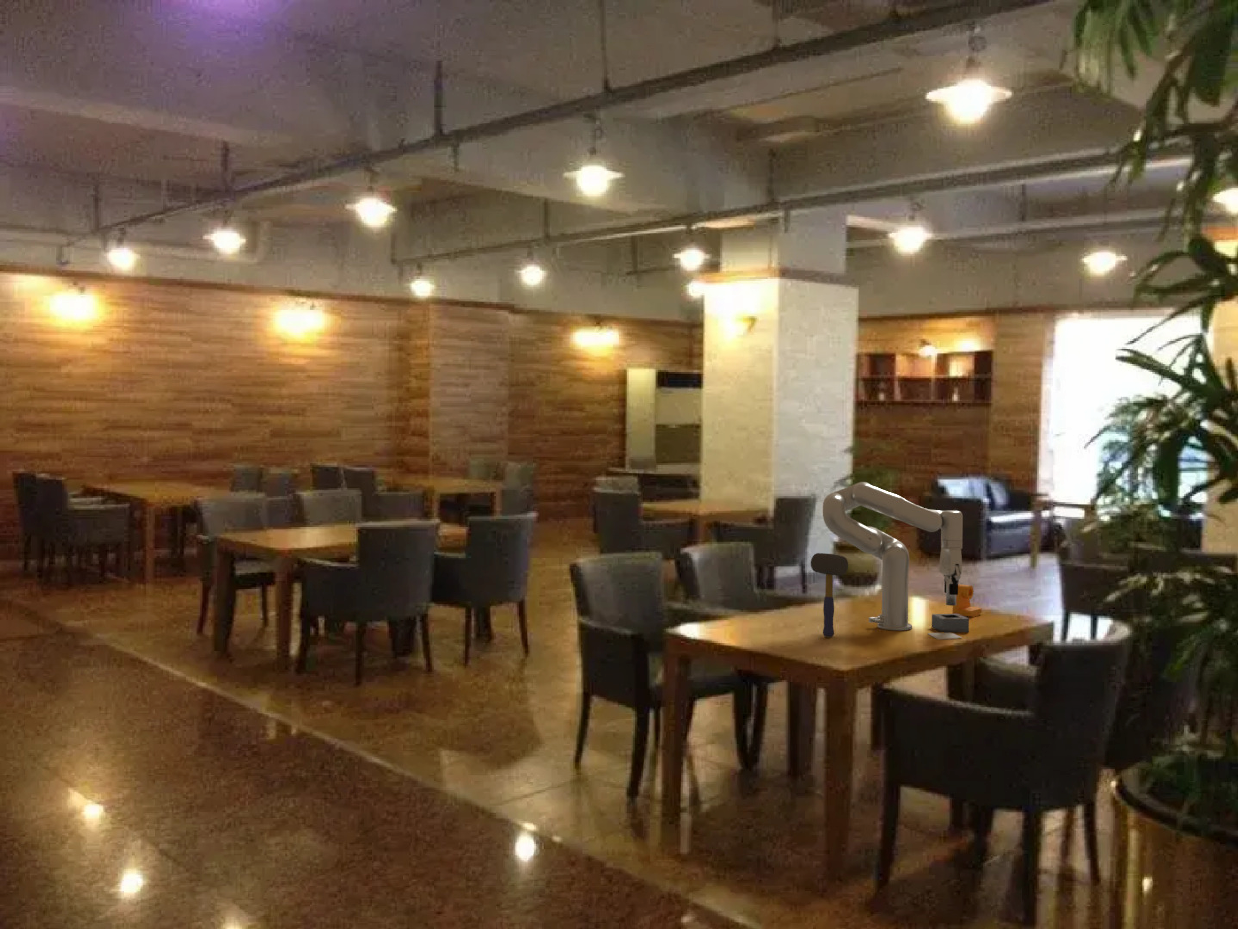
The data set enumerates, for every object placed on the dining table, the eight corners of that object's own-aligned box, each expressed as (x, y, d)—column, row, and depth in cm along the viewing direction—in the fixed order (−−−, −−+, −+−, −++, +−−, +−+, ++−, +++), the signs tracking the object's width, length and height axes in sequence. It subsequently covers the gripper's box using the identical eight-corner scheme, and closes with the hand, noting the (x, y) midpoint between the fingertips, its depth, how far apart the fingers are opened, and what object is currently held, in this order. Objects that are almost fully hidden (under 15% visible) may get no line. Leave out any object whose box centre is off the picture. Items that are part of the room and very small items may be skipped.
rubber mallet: (849, 638, 408) (850, 554, 407) (835, 641, 404) (836, 556, 402) (821, 633, 418) (822, 551, 416) (808, 636, 413) (808, 552, 411)
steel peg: (947, 606, 422) (947, 569, 422) (942, 603, 427) (942, 567, 426) (960, 605, 423) (960, 569, 422) (954, 603, 428) (955, 567, 427)
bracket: (969, 618, 449) (970, 587, 449) (952, 616, 454) (952, 585, 454) (982, 614, 457) (982, 584, 456) (965, 612, 462) (965, 582, 461)
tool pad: (937, 639, 408) (937, 638, 408) (927, 634, 417) (927, 633, 417) (962, 639, 409) (962, 637, 409) (951, 634, 418) (951, 632, 418)
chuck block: (942, 632, 420) (942, 619, 420) (931, 627, 430) (931, 614, 430) (968, 632, 421) (968, 618, 421) (957, 627, 431) (957, 613, 431)
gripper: (933, 541, 432) (932, 590, 433) (951, 547, 415) (950, 597, 416) (952, 541, 433) (951, 590, 433) (970, 546, 416) (970, 597, 417)
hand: (951, 593), depth 425 cm, fingers closed on steel peg, 3 cm apart
